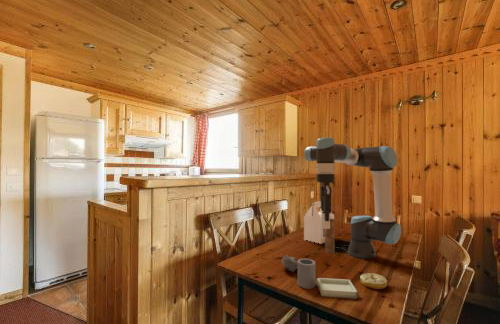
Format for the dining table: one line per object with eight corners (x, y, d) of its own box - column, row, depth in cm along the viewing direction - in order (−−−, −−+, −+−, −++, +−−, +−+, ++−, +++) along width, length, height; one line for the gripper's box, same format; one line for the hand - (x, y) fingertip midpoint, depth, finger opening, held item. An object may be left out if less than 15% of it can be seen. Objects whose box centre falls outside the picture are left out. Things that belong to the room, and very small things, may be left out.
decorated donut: (358, 278, 116) (358, 270, 116) (384, 281, 112) (384, 273, 113) (361, 288, 106) (361, 279, 106) (389, 292, 103) (389, 283, 103)
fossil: (305, 271, 122) (305, 255, 122) (293, 277, 116) (293, 260, 116) (288, 265, 130) (288, 250, 130) (276, 269, 124) (276, 253, 125)
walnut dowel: (333, 251, 107) (336, 219, 107) (335, 254, 103) (338, 221, 103) (320, 249, 108) (324, 217, 108) (322, 252, 104) (325, 219, 104)
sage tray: (349, 285, 108) (349, 279, 108) (357, 298, 97) (357, 292, 97) (317, 283, 109) (317, 277, 110) (321, 296, 99) (321, 289, 99)
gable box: (318, 234, 193) (318, 198, 193) (334, 237, 184) (334, 200, 184) (303, 240, 176) (303, 201, 177) (320, 244, 167) (320, 203, 168)
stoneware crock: (313, 281, 112) (313, 259, 112) (316, 289, 104) (316, 265, 105) (296, 280, 113) (297, 258, 113) (298, 287, 105) (298, 264, 105)
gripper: (314, 172, 115) (314, 222, 115) (319, 173, 98) (319, 231, 98) (330, 173, 114) (330, 223, 114) (338, 173, 97) (339, 232, 97)
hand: (325, 227), depth 106 cm, fingers closed on walnut dowel, 4 cm apart
